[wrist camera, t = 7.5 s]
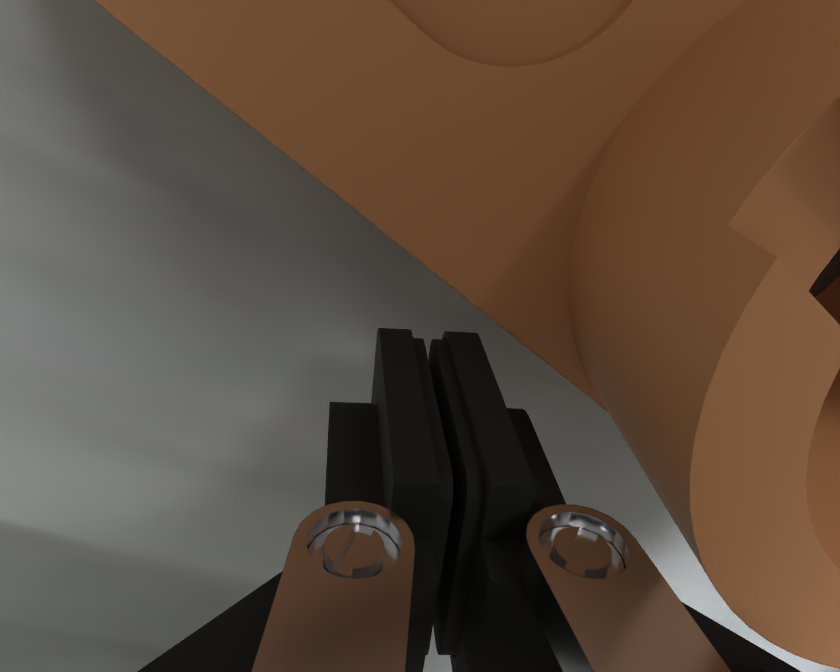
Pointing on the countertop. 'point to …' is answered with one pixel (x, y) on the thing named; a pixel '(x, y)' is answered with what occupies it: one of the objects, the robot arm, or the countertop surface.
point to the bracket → (601, 224)
